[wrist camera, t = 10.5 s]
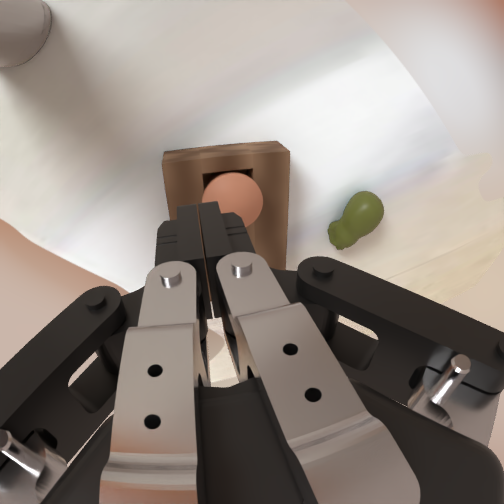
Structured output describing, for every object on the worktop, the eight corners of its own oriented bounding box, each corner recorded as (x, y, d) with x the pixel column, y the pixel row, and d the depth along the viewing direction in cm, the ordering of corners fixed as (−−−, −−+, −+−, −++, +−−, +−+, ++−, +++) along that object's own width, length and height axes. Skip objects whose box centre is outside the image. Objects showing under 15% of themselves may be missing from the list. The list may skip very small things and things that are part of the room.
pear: (396, 215, 41) (352, 261, 46) (380, 195, 45) (341, 239, 50) (373, 198, 38) (326, 250, 44) (357, 178, 42) (316, 227, 48)
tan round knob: (201, 212, 38) (205, 234, 34) (196, 163, 35) (199, 179, 30) (252, 206, 39) (263, 227, 35) (251, 157, 36) (262, 172, 31)
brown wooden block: (184, 282, 46) (186, 304, 42) (164, 151, 35) (161, 163, 31) (274, 269, 49) (284, 289, 45) (277, 140, 37) (289, 151, 33)
